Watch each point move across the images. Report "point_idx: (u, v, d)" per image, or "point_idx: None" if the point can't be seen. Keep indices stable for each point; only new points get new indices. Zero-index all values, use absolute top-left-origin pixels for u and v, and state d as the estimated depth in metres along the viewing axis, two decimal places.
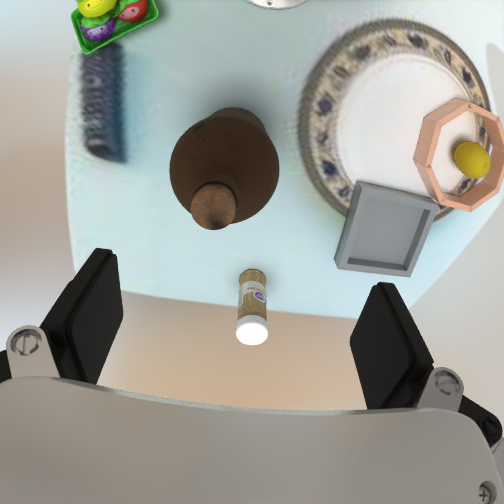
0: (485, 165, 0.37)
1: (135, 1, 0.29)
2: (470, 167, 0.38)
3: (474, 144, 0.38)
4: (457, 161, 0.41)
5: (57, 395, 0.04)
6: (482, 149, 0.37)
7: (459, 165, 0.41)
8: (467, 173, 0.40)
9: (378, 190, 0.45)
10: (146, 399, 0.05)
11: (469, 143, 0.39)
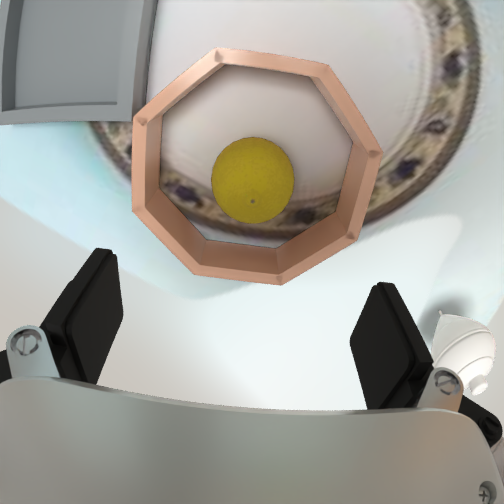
0: (256, 197, 0.18)
1: None
2: (238, 160, 0.19)
3: (292, 173, 0.21)
4: (241, 139, 0.21)
5: (57, 395, 0.04)
6: (289, 191, 0.20)
7: (232, 143, 0.20)
8: (220, 162, 0.20)
9: None
10: (146, 399, 0.05)
11: None
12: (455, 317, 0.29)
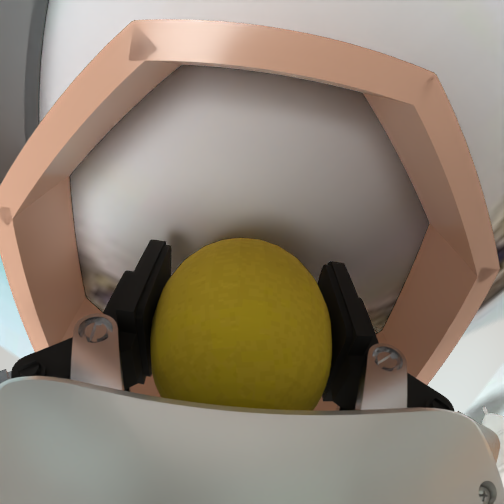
0: None
1: None
2: (200, 349, 0.07)
3: (331, 335, 0.09)
4: (212, 254, 0.09)
5: (57, 395, 0.04)
6: None
7: (191, 267, 0.09)
8: (160, 328, 0.08)
9: None
10: (146, 399, 0.05)
11: (324, 304, 0.09)
12: None
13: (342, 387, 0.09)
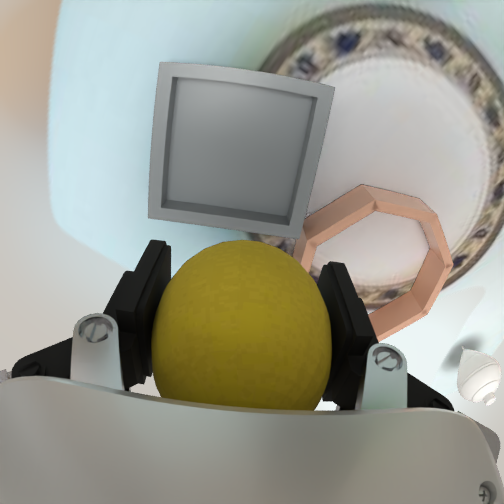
0: None
1: None
2: (201, 351, 0.07)
3: None
4: (213, 256, 0.09)
5: (57, 395, 0.04)
6: (323, 389, 0.08)
7: (192, 270, 0.09)
8: (161, 330, 0.08)
9: (327, 118, 0.24)
10: (146, 399, 0.05)
11: (324, 306, 0.09)
12: (474, 352, 0.39)
13: (342, 387, 0.09)
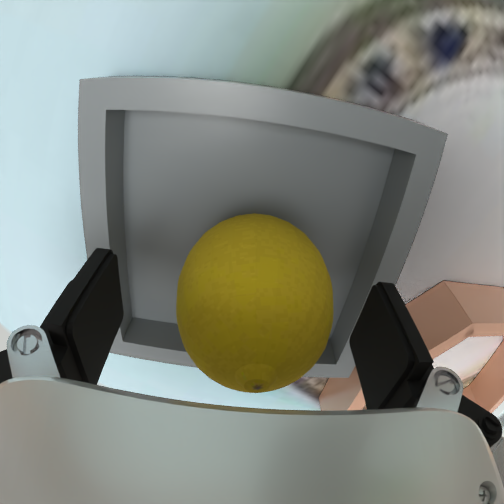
0: (266, 379, 0.08)
1: None
2: (226, 296, 0.09)
3: (332, 294, 0.11)
4: (232, 224, 0.11)
5: (57, 395, 0.04)
6: (327, 338, 0.10)
7: (214, 235, 0.10)
8: (188, 285, 0.10)
9: (425, 193, 0.12)
10: (146, 399, 0.05)
11: None
12: None
13: None
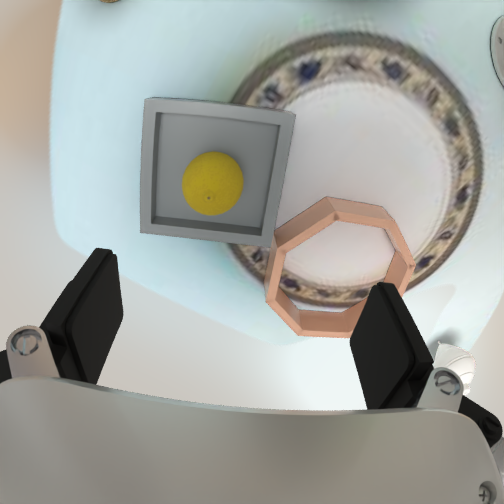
0: (211, 195, 0.25)
1: None
2: (199, 169, 0.26)
3: (241, 177, 0.28)
4: (203, 153, 0.28)
5: (57, 395, 0.04)
6: (237, 190, 0.27)
7: (197, 156, 0.28)
8: (187, 171, 0.27)
9: (290, 142, 0.29)
10: (146, 399, 0.05)
11: (239, 168, 0.28)
12: (449, 346, 0.44)
13: None
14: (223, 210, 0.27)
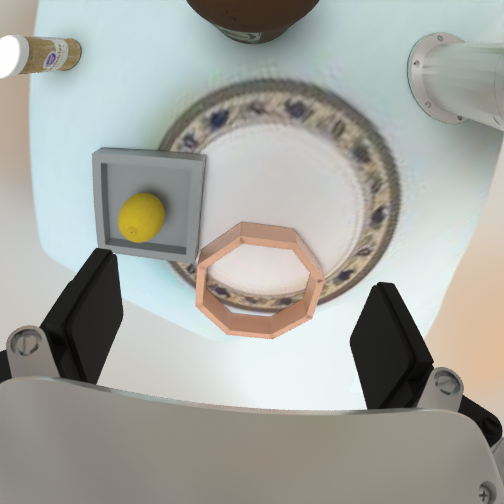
0: (133, 230, 0.34)
1: None
2: (126, 210, 0.34)
3: (159, 214, 0.36)
4: (133, 195, 0.36)
5: (57, 395, 0.04)
6: (155, 225, 0.36)
7: (129, 198, 0.36)
8: (120, 210, 0.35)
9: (200, 182, 0.38)
10: (146, 399, 0.05)
11: (159, 206, 0.37)
12: None
13: None
14: (145, 239, 0.36)
